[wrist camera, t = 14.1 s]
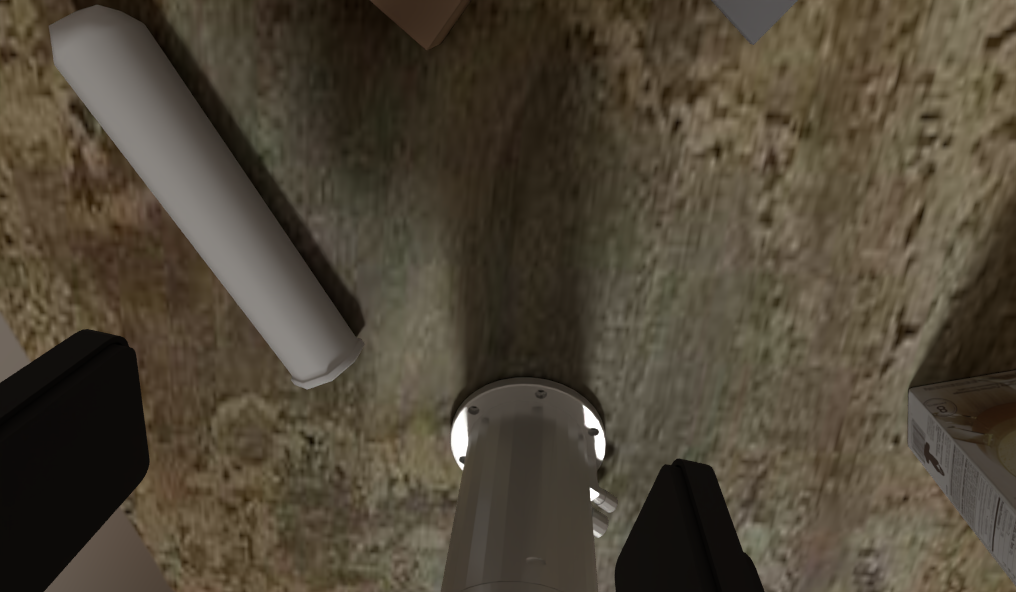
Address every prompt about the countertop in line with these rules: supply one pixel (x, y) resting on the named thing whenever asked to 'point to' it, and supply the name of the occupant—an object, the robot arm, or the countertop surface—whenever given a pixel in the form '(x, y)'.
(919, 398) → the coffee box
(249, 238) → the tube
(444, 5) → the bore block
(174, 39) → the countertop surface
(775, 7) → the mat
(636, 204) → the countertop surface
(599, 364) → the countertop surface
